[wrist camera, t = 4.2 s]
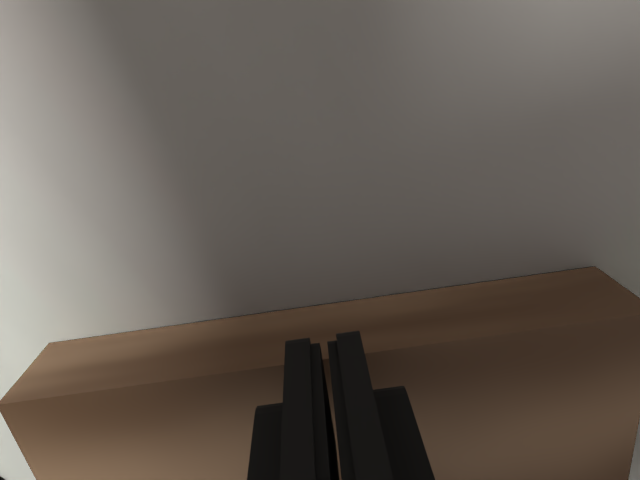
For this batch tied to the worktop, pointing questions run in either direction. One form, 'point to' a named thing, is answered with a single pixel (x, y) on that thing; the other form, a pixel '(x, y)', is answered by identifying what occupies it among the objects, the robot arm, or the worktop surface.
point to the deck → (385, 371)
